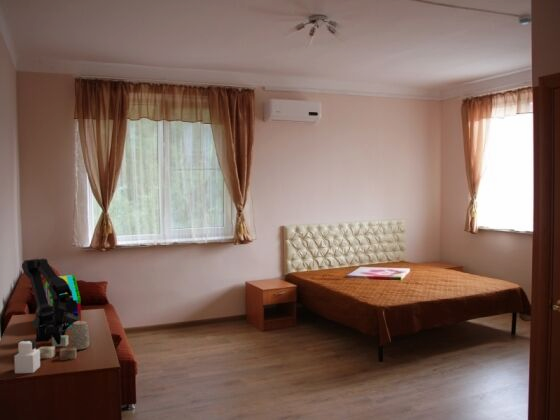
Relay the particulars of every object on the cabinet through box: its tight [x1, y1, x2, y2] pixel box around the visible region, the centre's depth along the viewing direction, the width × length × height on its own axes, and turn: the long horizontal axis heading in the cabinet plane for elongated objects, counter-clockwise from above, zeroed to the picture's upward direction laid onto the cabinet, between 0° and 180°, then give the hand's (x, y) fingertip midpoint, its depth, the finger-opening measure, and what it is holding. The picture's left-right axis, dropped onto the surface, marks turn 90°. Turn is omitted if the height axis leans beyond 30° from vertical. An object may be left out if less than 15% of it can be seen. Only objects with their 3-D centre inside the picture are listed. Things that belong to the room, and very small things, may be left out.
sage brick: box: [51, 334, 69, 347], centre depth 229 cm, size 6×4×4 cm, turn 92°
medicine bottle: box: [13, 338, 41, 374], centre depth 199 cm, size 7×7×12 cm
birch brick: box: [36, 345, 56, 359], centre depth 214 cm, size 6×4×4 cm, turn 92°
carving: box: [70, 320, 90, 351], centre depth 224 cm, size 6×8×12 cm
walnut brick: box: [59, 347, 78, 361], centre depth 213 cm, size 6×4×4 cm, turn 103°
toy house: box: [44, 274, 82, 329], centre depth 264 cm, size 24×14×25 cm, turn 35°
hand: (60, 342), depth 229 cm, fingers closed on sage brick, 3 cm apart
